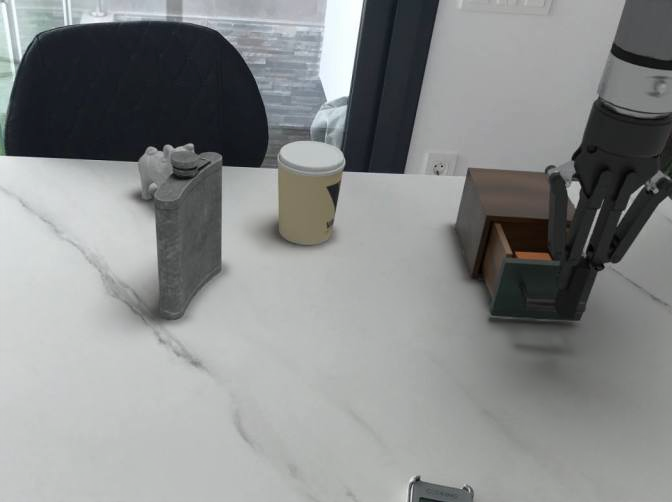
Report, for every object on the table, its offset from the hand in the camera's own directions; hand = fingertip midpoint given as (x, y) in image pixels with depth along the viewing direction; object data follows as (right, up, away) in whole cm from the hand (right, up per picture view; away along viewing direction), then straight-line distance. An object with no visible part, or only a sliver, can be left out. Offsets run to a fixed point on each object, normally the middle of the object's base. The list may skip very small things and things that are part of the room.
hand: (563, 311), depth 88 cm
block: (0, +4, +13) cm, 13 cm away
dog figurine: (-49, +19, +29) cm, 60 cm away
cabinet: (0, +11, +24) cm, 26 cm away
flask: (-44, +4, +12) cm, 46 cm away
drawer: (0, +3, +13) cm, 13 cm away
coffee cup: (-29, +14, +25) cm, 41 cm away
